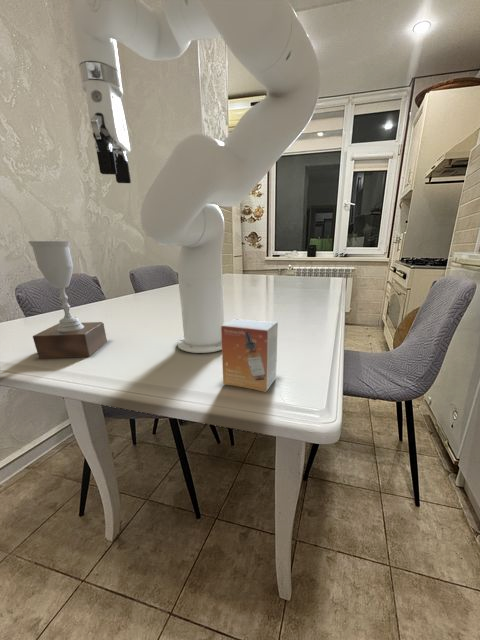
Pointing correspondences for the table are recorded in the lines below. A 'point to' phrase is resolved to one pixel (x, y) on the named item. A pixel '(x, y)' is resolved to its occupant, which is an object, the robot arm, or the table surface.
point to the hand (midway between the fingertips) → (116, 178)
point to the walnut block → (70, 341)
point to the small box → (249, 353)
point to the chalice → (57, 275)
